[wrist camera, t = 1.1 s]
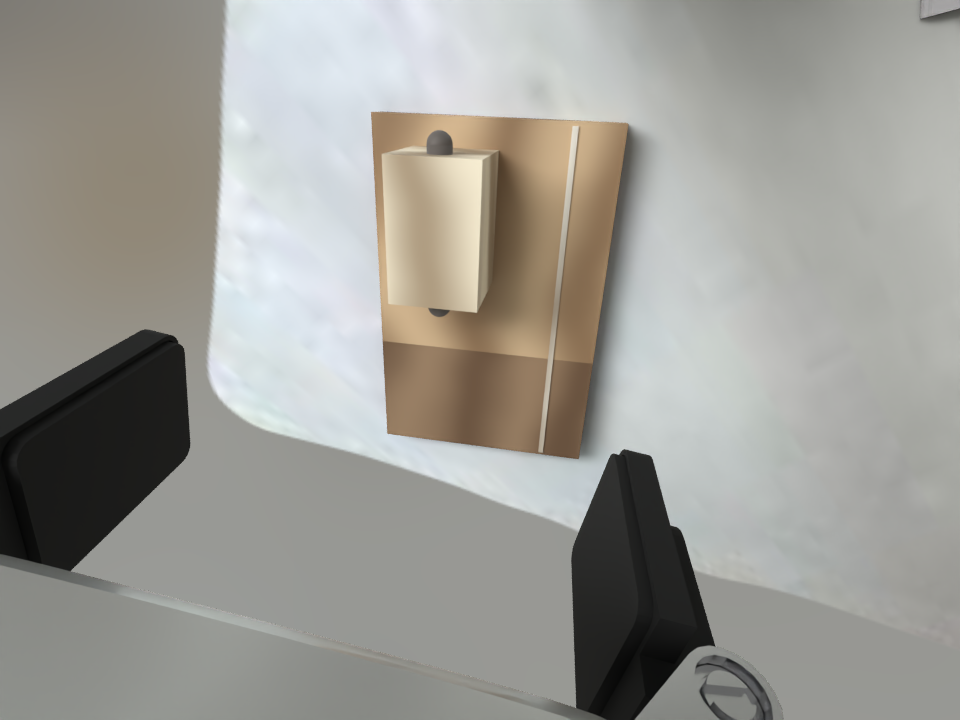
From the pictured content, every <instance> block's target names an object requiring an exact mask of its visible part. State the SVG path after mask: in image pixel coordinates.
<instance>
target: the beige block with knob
mask: <svg viewBox="0 0 960 720" xmlns="http://www.w3.org/2000/svg"><path fill="white" fill-rule="evenodd" d="M498 157H499V150H483V149H465V148H453V142H452V139H451V137H450V135H449V134H448V133H447V132H445V131H442V130H436V131H434V132H432V133H431V134H430V135H429V136H428V138H427V144H426V146H411V147H407V148H403V149H399V150H395V151H391V152H388V153H384V154H382V173H383V196H384V219H385V241H386V264H387V287H388V304H393V305H404V306H414V307H424V308H428V309H429V311H430V313H431V314H432V315H434V316H436V317H443V316H445V315H447V314H448V313H449V311H450V310H454V311H465V312H475V313H477V312H478V310H479V308H480V306H481V304H482V302H483V300H484V297H485V295H486V293H487V291H488V289H489V287H490V285H491V283H492V279H493V259H494V238H495V218H496V198H497V177H498Z"/></svg>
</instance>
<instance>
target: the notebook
mask: <svg viewBox="0 0 960 720" xmlns="http://www.w3.org/2000/svg"><path fill="white" fill-rule="evenodd" d="M371 119H372V138H373V158H374V178H375V197H376V217H377V237H378V256H379V276H380V296H381V315H382V335H383V355H384V374H385V394H386V414H387V433H388V434H394V435H401V436H409V437H416V438H424V439H431V440H439V441H446V442H454V443H461V444H469V445H476V446H484V447H491V448H499V449H506V450H514V451H521V452H529V453H536V454H544V455H551V456H559V457H566V458H574V459H579V453H580V446H581V439H582V433H583V426H584V419H585V412H586V406H587V399H588V392H589V386H590V379H591V372H592V365H593V359H594V352H595V345H596V339H597V332H598V325H599V319H600V312H601V305H602V298H603V292H604V285H605V278H606V272H607V265H608V258H609V252H610V245H611V238H612V231H613V225H614V218H615V211H616V205H617V198H618V191H619V184H620V178H621V171H622V164H623V158H624V151H625V144H626V138H627V131H628V124H627V123H617V122H595V121H573V120H551V119H530V118H508V117H486V116H464V115H442V114H420V113H399V112H371ZM436 130H442V131H445V132H447V133H448V134H449V135H450V137H451V139H452V142H453V148H465V149H483V150H499V157H498V177H497V198H496V218H495V238H494V259H493V279H492V283H491V285H490V287H489V289H488V291H487V293H486V295H485V297H484V300H483V302H482V304H481V306H480V308H479V310H478V312H477V313H475V312H465V311H454V310H450V311H449V313H448V314H447V315H445V316H443V317H436V316H434V315H432V314H431V313H430V311H429V309H428V308H424V307H414V306H404V305H393V304H388V287H387V264H386V241H385V219H384V196H383V173H382V154H384V153H388V152H391V151H395V150H399V149H403V148H407V147H411V146H426V144H427V138H428V136H429V135H430V134H431V133H432V132H434V131H436Z"/></svg>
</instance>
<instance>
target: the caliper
mask: <svg viewBox="0 0 960 720" xmlns="http://www.w3.org/2000/svg"><path fill="white" fill-rule="evenodd" d="M959 8H960V0H921V12H920V19H921V18H925V17H929V16H933V15H937V14H940V13H944V12H948V11H952V10H955V9H959Z"/></svg>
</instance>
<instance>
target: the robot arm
mask: <svg viewBox="0 0 960 720" xmlns="http://www.w3.org/2000/svg"><path fill="white" fill-rule="evenodd" d="M189 448H190V432H189V416H188V400H187V385H186V368H185V352H184V348H183V346H181V345H180V344H178V341H177V339H176V338H175V337H174V336H172V335H168V334H164V333H159V332H156V331H152V330H142V331H140V332H138V333H136V334H134V335H132V336H130V337H129V338H127V339H125V340H123V341H122V342H120V343H118V344H116V345H115V346H113V347H111V348H109V349H107V350H105V351H104V352H102V353H100V354H99V355H97V356H95V357H93V358H91V359H89V360H88V361H86V362H84V363H82V364H80V365H79V366H77V367H75V368H73V369H72V370H70V371H68V372H66V373H64V374H63V375H61V376H59V377H57V378H55V379H54V380H52V381H50V382H49V383H47V384H45V385H43V386H41V387H39V388H38V389H36V390H34V391H32V392H31V393H29V394H27V395H25V396H23V397H22V398H20V399H18V400H16V401H14V402H13V403H11V404H9V405H7V406H5V407H4V408H2V409H0V720H784V718H783V712H782V708H781V705H780V703H779V700H778V698H777V696H776V694H775V692H774V691H773V689H772V688H771V686H770V685H769V683H768V682H767V681H766V679H765V678H764V677H763V676H762V675H761V674H760V673H759V672H758V671H757V670H756V669H755V668H754V667H753V666H752V665H751V664H750V663H748V662H747V661H746V660H744V659H743V658H741V657H740V656H739V655H737V654H735V653H733V652H730V651H728V650H726V649H724V648H720V647H715V644H714V640H713V637H712V634H711V630H710V627H709V623H708V620H707V616H706V613H705V609H704V606H703V602H702V599H701V596H700V592H699V589H698V585H697V582H696V578H695V575H694V571H693V568H692V565H691V561H690V558H689V554H688V551H687V547H686V544H685V540H684V537H683V535H682V532H681V530H679V529H678V528H677V527H674V526H670V523H669V519H668V515H667V512H666V508H665V504H664V500H663V497H662V493H661V489H660V485H659V482H658V478H657V474H656V470H655V467H654V463H653V459H652V457H651V456H649V455H645V454H641V453H637V452H633V451H629V450H625V449H624V450H622V451H621V453H620V455H617V454H612V455H611V456H610V458H609V460H608V463H607V465H606V467H605V470H604V472H603V475H602V477H601V480H600V482H599V484H598V487H597V489H596V492H595V494H594V497H593V499H592V501H591V504H590V506H589V509H588V511H587V514H586V516H585V518H584V521H583V523H582V526H581V528H580V531H579V533H578V536H577V538H576V540H575V543H574V546H573V551H572V560H571V562H572V592H573V620H574V621H573V622H574V652H575V681H576V708H574V707H571V706H568V705H565V704H562V703H559V702H556V701H553V700H550V699H547V698H543V697H540V696H536V695H533V694H529V693H526V692H523V691H519V690H516V689H512V688H508V687H505V686H501V685H498V684H495V683H491V682H488V681H484V680H480V679H477V678H474V677H470V676H467V675H463V674H459V673H455V672H452V671H448V670H445V669H441V668H437V667H433V666H430V665H426V664H422V663H418V662H414V661H411V660H407V659H403V658H399V657H396V656H392V655H389V654H385V653H381V652H377V651H373V650H370V649H366V648H362V647H359V646H355V645H351V644H347V643H344V642H340V641H336V640H333V639H329V638H325V637H321V636H317V635H314V634H310V633H306V632H302V631H298V630H295V629H291V628H287V627H283V626H279V625H276V624H272V623H268V622H264V621H260V620H256V619H253V618H249V617H245V616H241V615H237V614H234V613H230V612H226V611H222V610H218V609H214V608H211V607H207V606H203V605H199V604H195V603H191V602H188V601H183V600H180V599H176V598H172V597H168V596H164V595H160V594H157V593H153V592H149V591H145V590H141V589H137V588H133V587H129V586H126V585H122V584H118V583H114V582H110V581H106V580H102V579H98V578H94V577H90V576H86V575H82V574H79V573H75V572H71V570H72V569H73V568H74V567H75V566H76V565H77V564H78V563H79V562H80V561H81V560H82V559H83V558H84V557H85V556H86V555H87V554H88V553H89V552H90V551H91V550H92V549H93V548H94V547H95V546H97V545H98V544H99V543H100V542H101V541H102V540H103V539H104V538H105V537H106V536H107V535H108V534H109V533H110V532H111V531H112V530H113V529H114V528H115V527H116V526H117V525H118V524H119V523H120V522H121V521H122V520H123V519H124V518H125V517H126V516H127V515H128V514H129V513H130V512H131V511H132V510H134V508H135V507H137V506H138V505H139V504H140V503H141V502H142V501H143V500H144V499H145V498H146V497H147V496H148V495H149V494H150V493H151V492H152V491H153V490H154V489H155V488H156V487H157V486H158V485H159V484H160V483H161V482H162V481H163V480H164V479H165V478H166V477H167V476H168V475H169V474H170V473H171V472H172V471H174V470H175V469H176V467H178V466H179V465H180V464H181V463H182V462H183V461H184V459H185V458H186V456H187V455H188V452H189Z"/></svg>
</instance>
